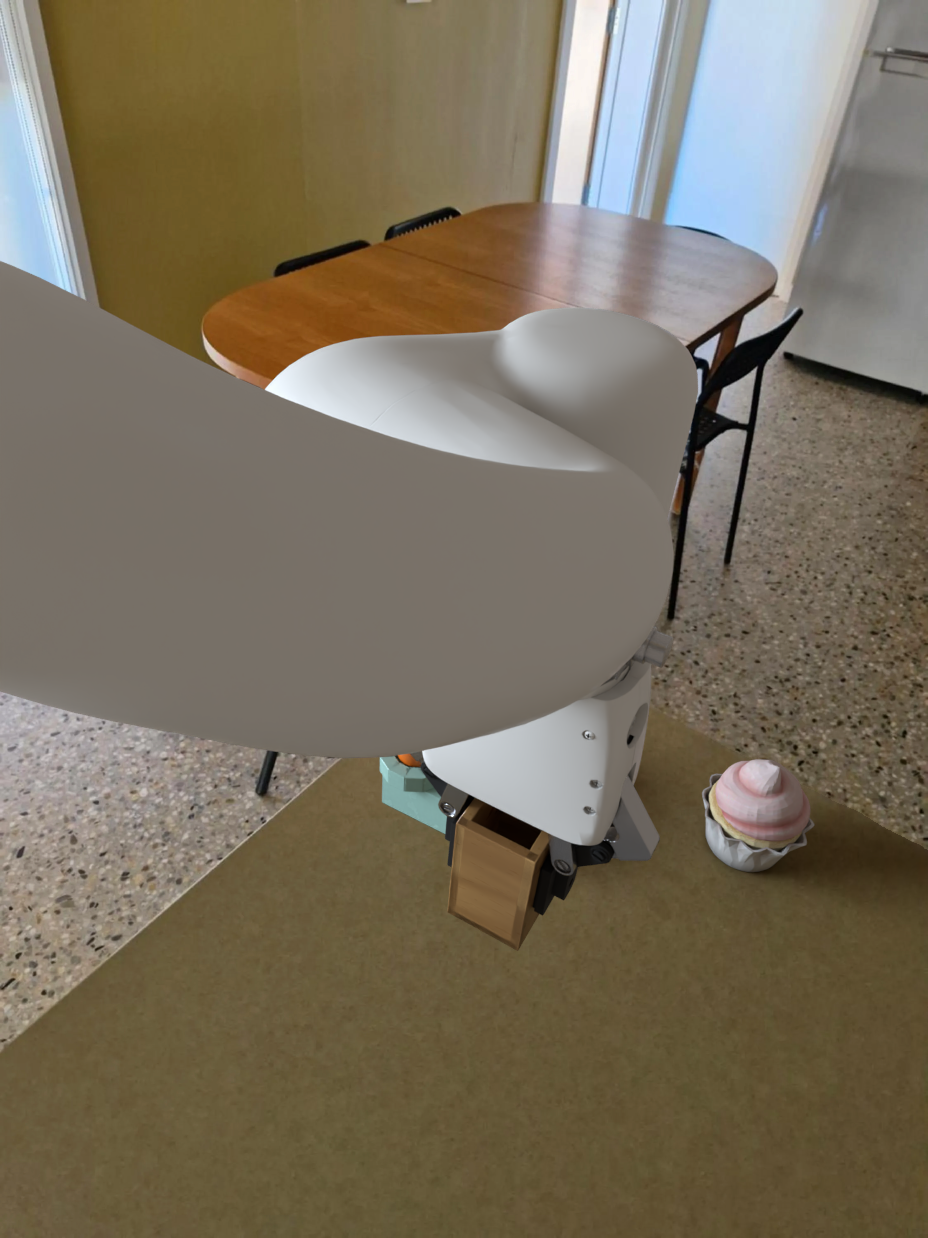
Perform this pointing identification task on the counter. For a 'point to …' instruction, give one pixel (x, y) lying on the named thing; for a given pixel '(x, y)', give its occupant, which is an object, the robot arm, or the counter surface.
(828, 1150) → the counter surface
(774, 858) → the cupcake
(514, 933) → the open wooden box
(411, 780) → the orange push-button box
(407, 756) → the button
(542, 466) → the robot arm
